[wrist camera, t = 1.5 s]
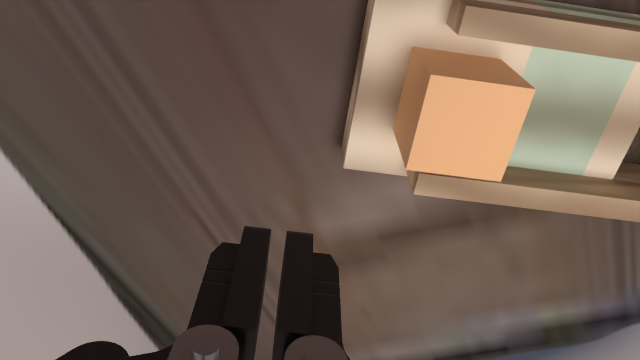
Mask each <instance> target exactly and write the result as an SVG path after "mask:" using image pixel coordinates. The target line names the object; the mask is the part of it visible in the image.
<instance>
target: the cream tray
mask: <svg viewBox="0 0 640 360" xmlns="http://www.w3.org/2000/svg"><path fill="white" fill-rule="evenodd" d="M413 46H414V47H421V48H428V49H435V50H442V51H449V52H455V53H462V54H469V55H476V56H483V57H490V58H497V59H501V60H503V61H504V62H505V63H506V64H507V65H508V66H510V67H511V68H512V69H513V70H514V71H515V72H517V73H518V74H519V75H520V76H521V77H522V78H523V79H525V80H526V81H527V82H528V83H529V84H530V85H532V86H533V87H534V88H535V89H536V91H535V94H534V96H533V99H532V101H531V104H530V107H529V109H528V112H527V115H526V117H525V120H524V122H523V125H522V128H521V130H520V133H519V136H518V138H517V141H516V143H515V146H514V149H513V151H512V154H511V157H510V159H509V162H508V164H507V167H506V170H505V172H504V175H503V178H502V180H501V182H498V181H490V180H482V179H475V178H467V177H459V176H451V175H443V174H435V173H427V172H419V171H411V170H406V169H405V166H404V162H403V159H402V156H401V153H400V150H399V147H398V144H397V141H396V138H395V135H394V131H393V127H394V123H395V119H396V115H397V110H398V106H399V102H400V98H401V93H402V89H403V85H404V81H405V77H406V72H407V68H408V64H409V60H410V55H411V51H412V47H413ZM639 127H640V15H637V14H630V13H624V12H618V11H611V10H605V9H598V8H592V7H585V6H579V5H572V4H566V3H560V2H553V1H547V0H368V5H367V10H366V16H365V21H364V27H363V32H362V38H361V43H360V49H359V54H358V59H357V65H356V70H355V76H354V81H353V87H352V92H351V98H350V103H349V109H348V114H347V120H346V125H345V131H344V136H343V142H342V159H343V168H346V169H354V170H362V171H370V172H378V173H386V174H393V175H401V176H408V179H409V182H410V185H411V188H412V191H413V194H416V195H424V196H432V197H440V198H449V199H457V200H465V201H473V202H481V203H489V204H497V205H505V206H514V207H522V208H530V209H538V210H546V211H554V212H562V213H570V214H578V215H587V216H595V217H603V218H611V219H619V220H627V221H635V222H640V164H633V163H625V162H622V160H623V158H624V156H625V155H626V153H627V151H628V149H629V147H630V145H631V143H632V141H633V139H634V137H635V135H636V133H637V131H638V129H639Z"/></svg>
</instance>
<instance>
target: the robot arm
mask: <svg viewBox="0 0 640 360" xmlns="http://www.w3.org/2000/svg"><path fill="white" fill-rule="evenodd" d="M270 236H271V229H267V228H258V227H249V226H245V227H244V230H243V235H242V239H241V243H240V244H233V243H224V242H222V243H221V244H220V245H219V246H218V247H217V248H216V249H215V250H214V251H213V252H212V253H211V255H210V258H209V261H208V264H207V268H206V271H205V274H204V277H203V282H202V284H201V287H200V290H199V293H198V296H197V300H196V303H195V306H194V309H193V312H192V316H191V319H190V322H189V325H188V328H187V330H186V331H185V332H183V333H182V334H181V335H180V336H179V337H178V338H177V339H176V340H175V342H174V344H172V345H171V346H169V347H167V348H165V349H163V350H160V351H157V352H152V353H147V354H142V355H136V356H130V357H129V355H128V353H127V351H126V350H125V349H124V348H123V347H121V346H120V345H118V344H116V343H112V342H107V341H96V342H90V343H86V344H83V345H80V346H78V347H76V348H74V349H72V350H71V351H69V352H67V353H66V354H65V355H63V356H61V357H59V358H58V359H56V360H254V357H255V350H256V343H257V336H258V329H259V323H260V316H261V309H262V302H263V295H264V288H265V280H266V271H267V263H268V254H269V245H270ZM272 360H350V359H349V357H348V356H347V354H346V352H345V350H344V348H343V343H342V328H341V308H340V288H339V269H338V266H337V265H336V263H335V261H334V260H333V258H332V256H331V255H330V254H322V253H313V234H311V233H302V232H293V231H287V234H286V242H285V249H284V257H283V264H282V272H281V280H280V288H279V297H278V306H277V316H276V325H275V334H274V344H273V353H272Z"/></svg>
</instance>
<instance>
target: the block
mask: <svg viewBox="0 0 640 360" xmlns="http://www.w3.org/2000/svg"><path fill="white" fill-rule="evenodd" d="M535 91H536V89H535V88H534V87H533V86H532V85H530V84H529V83H528V82H527V81H526V80H525V79H523V78H522V77H521V76H520V75H519V74H518V73H517V72H515V71H514V70H513V69H512V68H511V67H510V66H508V65H507V64H506V63H505V62H504V61H503V60H501V59H497V58H490V57H483V56H476V55H469V54H462V53H455V52H449V51H442V50H435V49H428V48H421V47H414V46H413V47H412V51H411V55H410V60H409V64H408V68H407V72H406V77H405V81H404V85H403V89H402V93H401V98H400V102H399V106H398V110H397V115H396V119H395V123H394V127H393V131H394V135H395V138H396V141H397V144H398V147H399V150H400V153H401V156H402V159H403V162H404V166H405V169H406V170H411V171H419V172H427V173H435V174H443V175H451V176H459V177H467V178H475V179H482V180H490V181H498V182H501V180H502V178H503V175H504V172H505V170H506V167H507V164H508V162H509V159H510V157H511V154H512V151H513V149H514V146H515V143H516V141H517V138H518V136H519V133H520V130H521V128H522V125H523V122H524V120H525V117H526V115H527V112H528V109H529V107H530V104H531V101H532V99H533V96H534V94H535Z"/></svg>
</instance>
